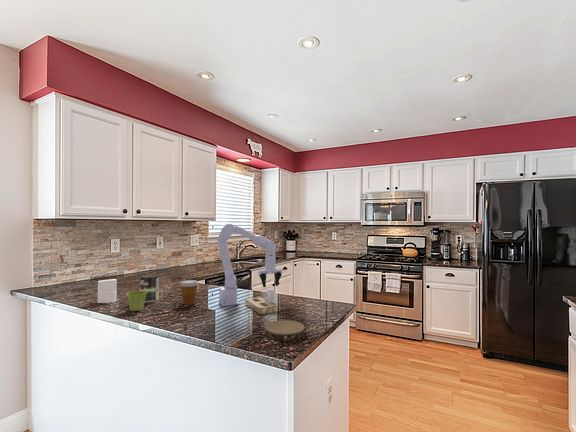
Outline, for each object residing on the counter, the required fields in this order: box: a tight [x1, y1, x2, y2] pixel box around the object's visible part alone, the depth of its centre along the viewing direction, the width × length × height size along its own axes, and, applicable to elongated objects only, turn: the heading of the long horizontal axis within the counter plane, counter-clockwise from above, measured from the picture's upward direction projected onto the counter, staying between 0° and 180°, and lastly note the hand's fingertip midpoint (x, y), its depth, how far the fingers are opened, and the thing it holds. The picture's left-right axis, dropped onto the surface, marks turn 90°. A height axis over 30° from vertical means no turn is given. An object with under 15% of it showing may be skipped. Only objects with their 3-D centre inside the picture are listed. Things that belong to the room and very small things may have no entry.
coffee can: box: [138, 273, 160, 304], centre depth 171 cm, size 10×10×14 cm
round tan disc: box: [264, 319, 305, 342], centre depth 120 cm, size 16×16×3 cm
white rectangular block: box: [97, 278, 118, 304], centre depth 168 cm, size 9×9×12 cm
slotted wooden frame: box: [244, 297, 278, 315], centre depth 156 cm, size 9×20×3 cm, turn 29°
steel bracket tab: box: [266, 288, 275, 304], centre depth 169 cm, size 2×5×7 cm, turn 29°
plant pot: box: [126, 290, 147, 312], centre depth 152 cm, size 9×9×9 cm
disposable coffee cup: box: [179, 279, 199, 305], centre depth 166 cm, size 10×10×12 cm
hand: (270, 286), depth 169 cm, fingers open, 7 cm apart
